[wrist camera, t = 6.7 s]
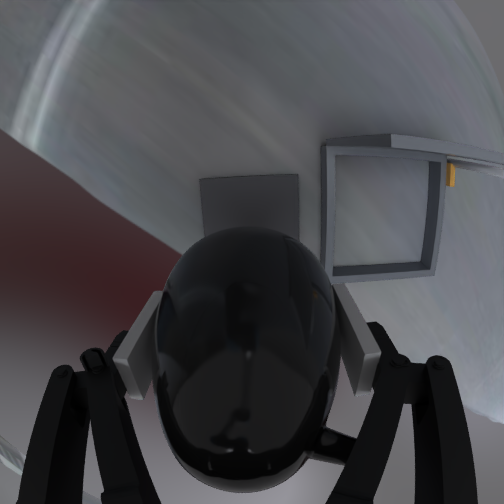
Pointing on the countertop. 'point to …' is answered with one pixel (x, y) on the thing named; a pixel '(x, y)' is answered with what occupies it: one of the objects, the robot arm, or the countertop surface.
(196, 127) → the countertop surface
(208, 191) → the pad
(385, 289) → the countertop surface
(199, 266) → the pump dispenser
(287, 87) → the countertop surface
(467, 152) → the case
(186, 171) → the countertop surface
